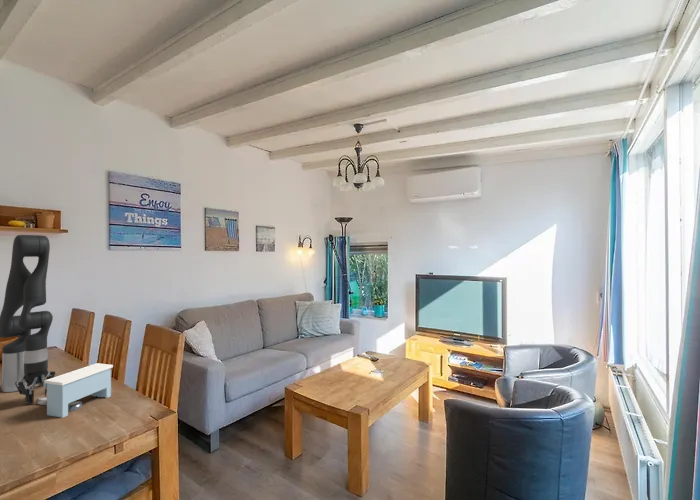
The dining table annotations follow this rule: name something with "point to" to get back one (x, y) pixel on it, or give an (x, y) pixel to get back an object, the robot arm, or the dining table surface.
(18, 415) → the dining table surface
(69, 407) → the token
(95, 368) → the bench
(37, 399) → the wooden cube mallet
